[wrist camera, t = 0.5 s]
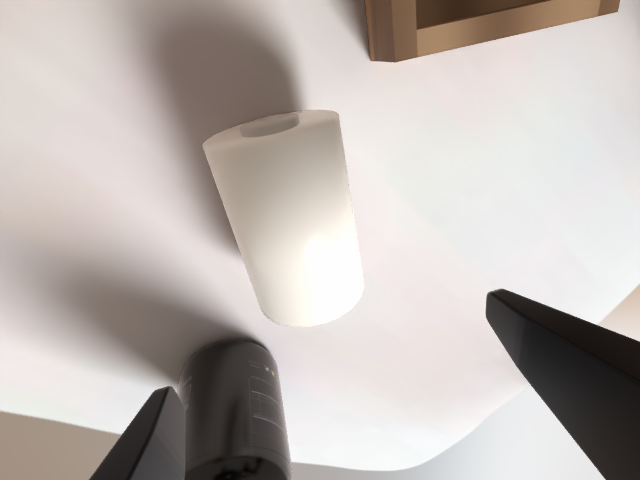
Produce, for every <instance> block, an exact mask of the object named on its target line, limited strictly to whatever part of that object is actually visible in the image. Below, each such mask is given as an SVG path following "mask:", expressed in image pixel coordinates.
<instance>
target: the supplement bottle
mask: <svg viewBox="0 0 640 480" xmlns="http://www.w3.org/2000/svg"><path fill="white" fill-rule="evenodd" d="M177 395H178V396H179V398H180V400H181V401H182V403H183V405H184V408H185V477H184V480H293V473H292V465H291V458H290V451H289V444H288V437H287V430H286V423H285V416H284V409H283V402H282V395H281V388H280V381H279V375H278V369H277V365H276V362H275V360H274V358H273V357H272V355H271V354H270V353H269V352H268V351H267V350H266V349H264V348H263V347H261V346H259V345H257V344H255V343H253V342H249V341H244V340H225V341H220V342H216V343H213V344H210V345H208V346H206V347H204V348H202V349H200V350H199V351H197V352H196V353H195V354H194V355H193V356H192V357H191V358H190V359H189V360H188V361H187V362H186V364H185V366H184V367H183V369H182V372H181V375H180V380H179V385H178V391H177Z"/></svg>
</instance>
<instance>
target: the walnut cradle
mask: <svg viewBox="0 0 640 480" xmlns="http://www.w3.org/2000/svg"><path fill="white" fill-rule="evenodd" d="M619 3H620V0H365V8H366V18H367V28H368V38H369V48H370V58H371V61H383V62H399V61H403V60H408V59H412V58H416V57H421V56H425V55H430V54H434V53H438V52H443V51H447V50H452V49H456V48H460V47H465V46H469V45H474V44H478V43H482V42H487V41H491V40H496V39H500V38H504V37H509V36H513V35H518V34H522V33H527V32H531V31H535V30H540V29H544V28H549V27H553V26H557V25H562V24H566V23H571V22H575V21H579V20H584V19H588V18H593V17H597V16H601V15H606V14H610V13H615V12H618V8H619Z"/></svg>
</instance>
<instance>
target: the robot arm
mask: <svg viewBox="0 0 640 480" xmlns="http://www.w3.org/2000/svg"><path fill="white" fill-rule="evenodd" d="M486 318H487V320H488V322H489V324H490V325H491V327H492V329H493V330H494V332H495V333H496V335H497V336H498V338H499V340H500V341H501V343H502V344H503V346H504V347H505V349H506V351H507V352H508V354H509V355H510V357H511V358H512V360H513V362H514V363H515V365H516V366H517V367H518V369H519V370H520V372H521V373H522V374H523V376H524V377H525V378H526V379H527V381H528V382H529V383H530V384H531V386H532V387H533V388H534V389H535V391H536V392H537V393H538V394H539V396H540V397H541V398H542V400H543V401H544V402H545V403H546V405H547V406H548V407H549V408H550V410H551V411H552V412H553V414H554V415H555V416H556V417H557V419H558V420H559V421H560V422H561V423H562V425H563V426H564V427H565V429H566V430H567V431H568V433H569V434H570V435H571V436H572V438H573V439H574V440H575V441H576V443H577V444H578V445H579V446H580V448H581V449H582V450H583V452H584V453H585V454H586V455H587V456H588V458H589V459H590V460H591V462H592V463H593V464H594V466H595V467H596V468H597V469H598V470H599V472H600V473H601V474H602V476H603V477H604V478H605V479H606V480H640V342H639V341H637V340H634V339H632V338H629V337H626V336H624V335H621V334H618V333H616V332H613V331H611V330H608V329H605V328H603V327H600V326H598V325H595V324H593V323H590V322H588V321H585V320H583V319H580V318H577V317H575V316H572V315H570V314H567V313H564V312H562V311H559V310H557V309H554V308H552V307H549V306H546V305H544V304H541V303H539V302H536V301H534V300H531V299H528V298H526V297H523V296H521V295H518V294H515V293H513V292H510V291H508V290H505V289H498V290H494V291H491V292H489V293H488V294H487V299H486ZM184 477H185V408H184V405H183V403H182V401H181V400H180V398H179V396H178V395H177V393H176V392H175V390H174V389H173V387H171V386H167V387H164V388H161V389H157V390H155V391H154V392H153V393H152V394H151V396H150V397H149V398H148V400H147V401H146V403H145V404H144V405H143V407H142V408H141V409H140V411H139V412H138V413H137V415H136V416H135V418H134V419H133V420H132V422H131V423H130V424H129V426H128V427H127V429H126V430H125V431H124V433H123V434H122V435H121V437H120V438H119V439H118V441H117V442H116V444H115V445H114V446H113V448H112V449H111V450H110V452H109V453H108V455H107V456H106V457H105V459H104V460H103V461H102V463H101V464H100V465H99V467H98V468H97V469H96V471H95V472H94V474H93V475H92V476H91V478H90V479H89V480H184Z"/></svg>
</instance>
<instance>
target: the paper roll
mask: <svg viewBox="0 0 640 480" xmlns="http://www.w3.org/2000/svg"><path fill="white" fill-rule="evenodd" d="M202 146H203V149H204V152H205V155H206V158H207V160H208V163H209V166H210V169H211V172H212V174H213V177H214V180H215V183H216V186H217V188H218V191H219V194H220V197H221V200H222V202H223V205H224V208H225V211H226V213H227V216H228V219H229V222H230V225H231V227H232V230H233V233H234V236H235V239H236V241H237V244H238V247H239V250H240V253H241V255H242V258H243V261H244V264H245V267H246V269H247V272H248V275H249V278H250V280H251V283H252V286H253V289H254V292H255V294H256V297H257V300H258V303H259V306H260V308H261V311H262V312H263V314H264V315H265V316H266V317H267V318H268V319H269V320H271V321H272V322H275V323H277V324H279V325H283V326H287V327H297V328H300V327H311V326H317V325H321V324H324V323H327V322H330V321H332V320H334V319H337V318H338V317H340V316H342V315H343V314H345V313H346V312H348V311H349V310H350V309H351V308H352V307H353V306H354V305H355V304H356V303H357V302H358V300H359V299H360V297H361V295H362V293H363V289H364V279H363V272H362V265H361V259H360V252H359V246H358V239H357V233H356V226H355V220H354V213H353V206H352V200H351V193H350V187H349V180H348V174H347V167H346V161H345V154H344V147H343V141H342V134H341V128H340V121H339V115H338V113H336V112H334V111H329V110H307V111H298V112H291V113H284V114H277V115H271V116H267V117H263V118H259V119H256V120H253V121H250V122H247V123H243V124H240V125H237V126H234V127H231V128H229V129H226V130H224V131H221V132H219V133H217V134H215V135H213V136H212V137H210V138H208V139H207V140H206V141H205V142H204V143H203V145H202Z"/></svg>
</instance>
